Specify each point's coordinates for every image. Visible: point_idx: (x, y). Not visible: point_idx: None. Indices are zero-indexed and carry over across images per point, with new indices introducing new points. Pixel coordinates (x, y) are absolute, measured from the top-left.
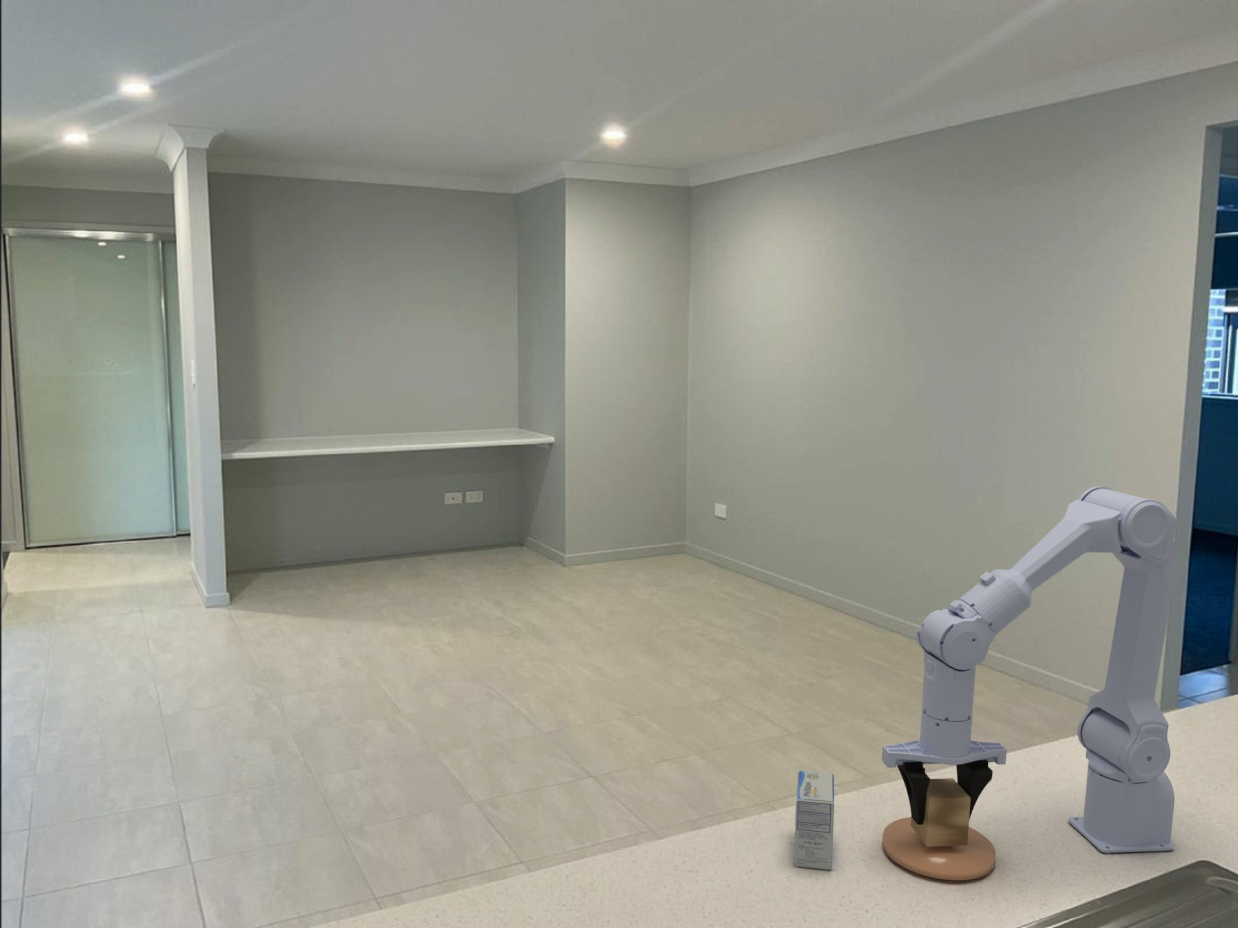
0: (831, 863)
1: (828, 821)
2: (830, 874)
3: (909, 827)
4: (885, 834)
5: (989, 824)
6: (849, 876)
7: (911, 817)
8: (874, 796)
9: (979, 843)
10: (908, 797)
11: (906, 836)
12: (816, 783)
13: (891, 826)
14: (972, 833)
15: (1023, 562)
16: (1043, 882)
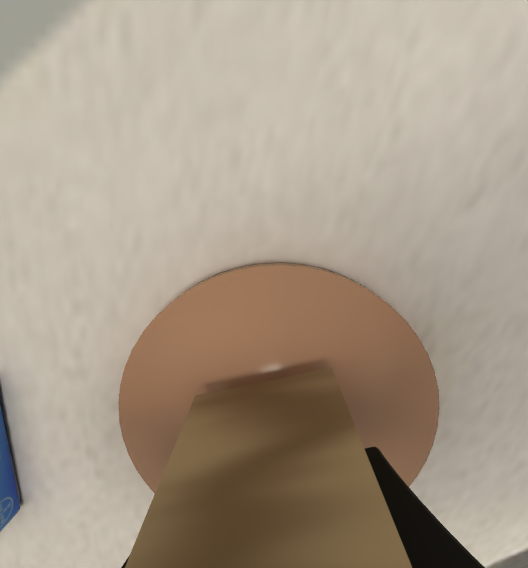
0: (6, 523)
1: None
2: (23, 515)
3: (201, 350)
4: (126, 402)
5: (480, 205)
6: (65, 516)
7: (188, 415)
8: (103, 55)
9: (400, 407)
10: (123, 566)
11: (188, 403)
12: None
13: (145, 352)
14: (397, 352)
15: None
16: (504, 478)
